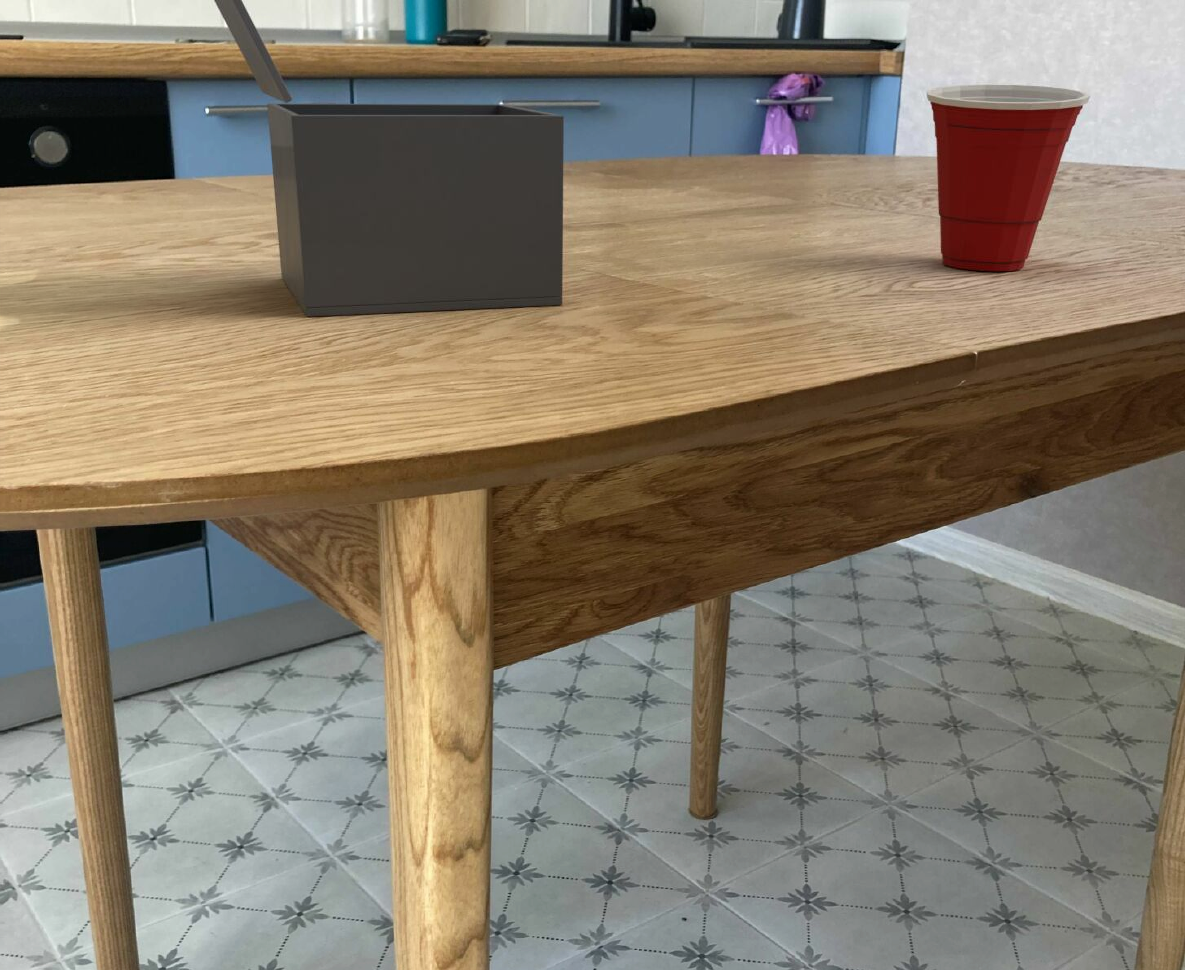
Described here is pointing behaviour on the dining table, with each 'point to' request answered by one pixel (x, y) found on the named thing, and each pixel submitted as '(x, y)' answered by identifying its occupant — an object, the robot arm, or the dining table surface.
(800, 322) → the dining table surface
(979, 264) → the plastic cup
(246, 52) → the flap
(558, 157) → the carton
